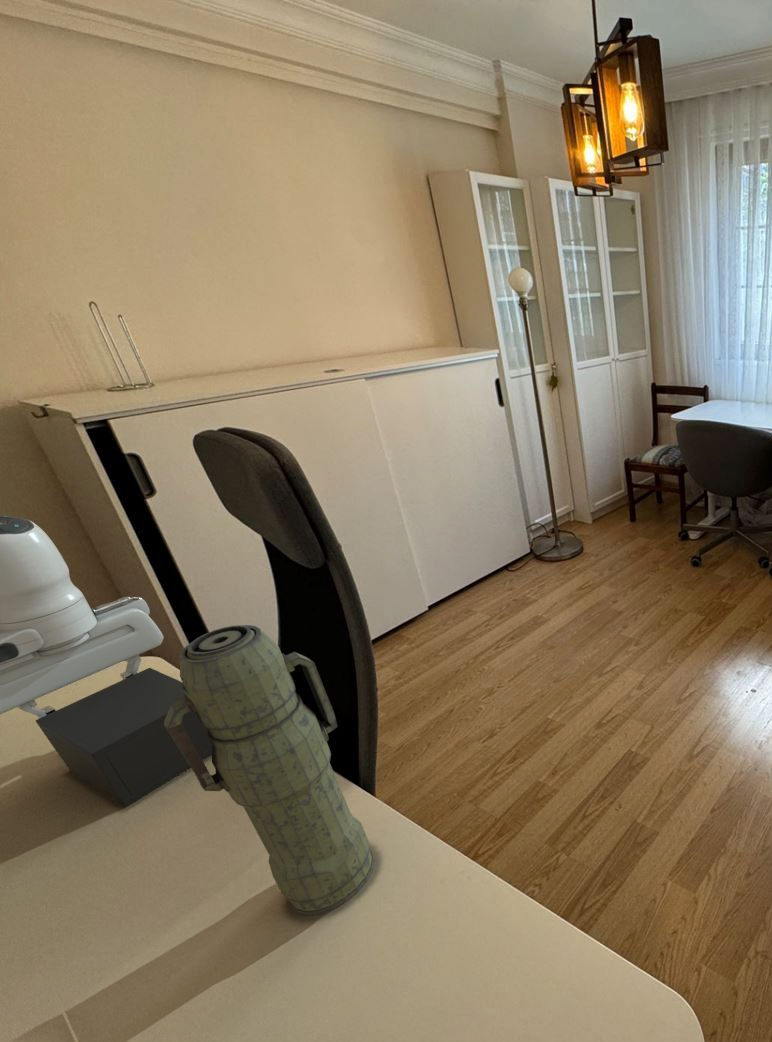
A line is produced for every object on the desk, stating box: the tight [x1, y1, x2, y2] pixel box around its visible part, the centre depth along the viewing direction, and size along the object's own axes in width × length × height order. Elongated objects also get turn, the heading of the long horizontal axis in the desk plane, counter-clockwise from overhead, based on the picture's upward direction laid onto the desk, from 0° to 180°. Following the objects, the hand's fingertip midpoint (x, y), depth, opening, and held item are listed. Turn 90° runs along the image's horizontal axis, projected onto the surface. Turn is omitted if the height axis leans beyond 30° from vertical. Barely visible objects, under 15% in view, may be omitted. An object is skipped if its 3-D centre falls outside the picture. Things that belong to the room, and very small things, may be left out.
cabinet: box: [35, 667, 212, 808], centre depth 83 cm, size 16×13×10 cm
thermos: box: [164, 624, 375, 916], centre depth 60 cm, size 9×12×35 cm
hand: (93, 699), depth 85 cm, fingers open, 8 cm apart
